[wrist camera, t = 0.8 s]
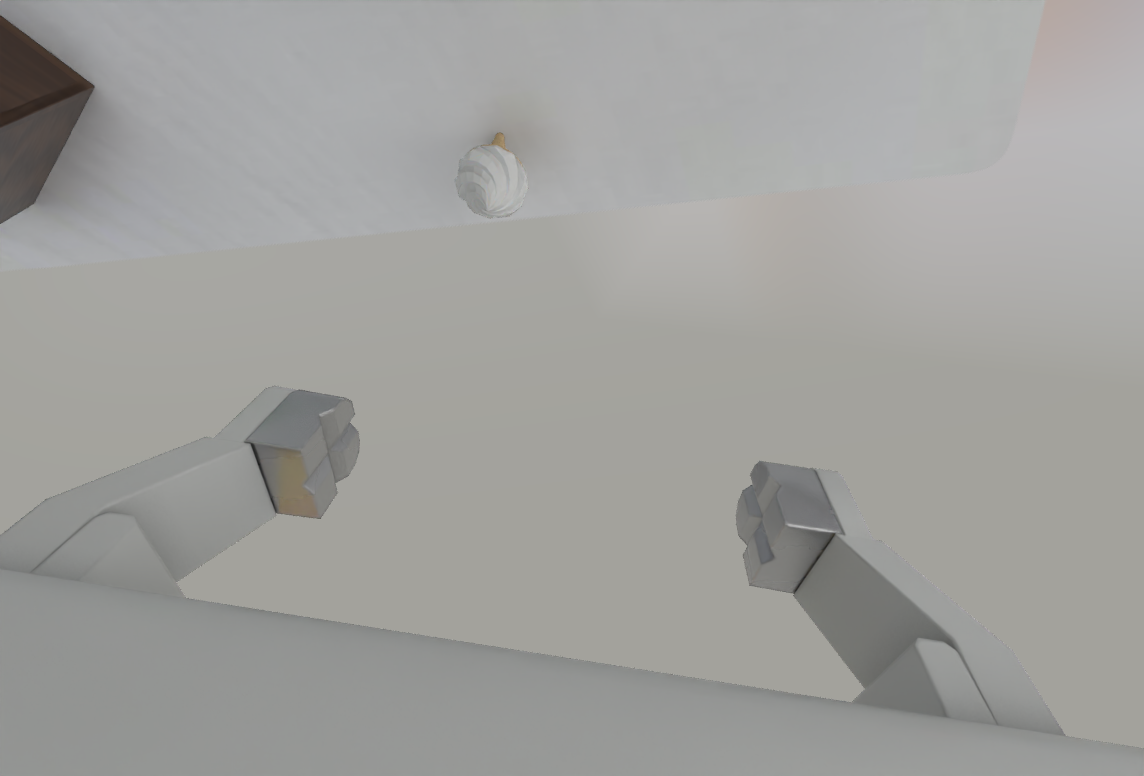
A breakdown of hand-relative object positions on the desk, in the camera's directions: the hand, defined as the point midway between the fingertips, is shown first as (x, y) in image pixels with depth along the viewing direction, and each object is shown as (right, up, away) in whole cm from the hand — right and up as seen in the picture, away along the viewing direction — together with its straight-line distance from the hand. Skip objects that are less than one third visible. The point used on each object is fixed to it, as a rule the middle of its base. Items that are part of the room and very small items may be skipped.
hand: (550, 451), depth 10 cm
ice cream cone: (-6, +25, +35) cm, 44 cm away
